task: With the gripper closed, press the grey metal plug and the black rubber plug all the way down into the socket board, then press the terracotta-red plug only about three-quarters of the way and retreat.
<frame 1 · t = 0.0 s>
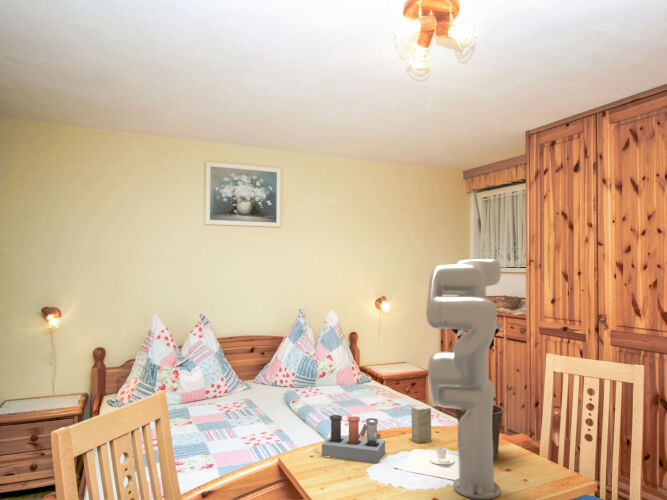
hand: (475, 348, 156), 37 cm above the table, tool pointing down, fingers open, 9 cm apart
plug black: (335, 428, 162), point 8 cm above the table, slide at 0.0 cm
skincare box: (421, 441, 173), on the table
socket board: (353, 454, 159), on the table
teacup and saucer: (434, 463, 150), on the table, touching plant pot
plug grey: (371, 431, 157), point 8 cm above the table, slide at 0.0 cm
plug red: (353, 430, 159), point 8 cm above the table, slide at 0.0 cm
plant pot: (479, 455, 158), on the table, touching teacup and saucer
grey white bent piece: (358, 447, 166), on the table
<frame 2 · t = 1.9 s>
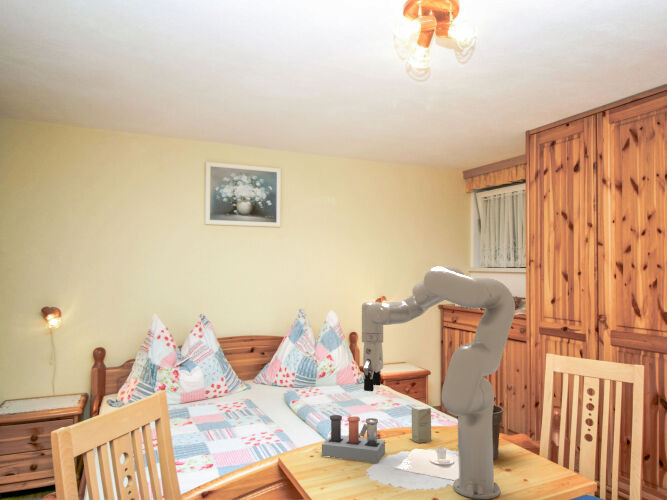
hand: (372, 387, 159), 23 cm above the table, tool pointing down, fingers open, 9 cm apart
nothing on the table moved.
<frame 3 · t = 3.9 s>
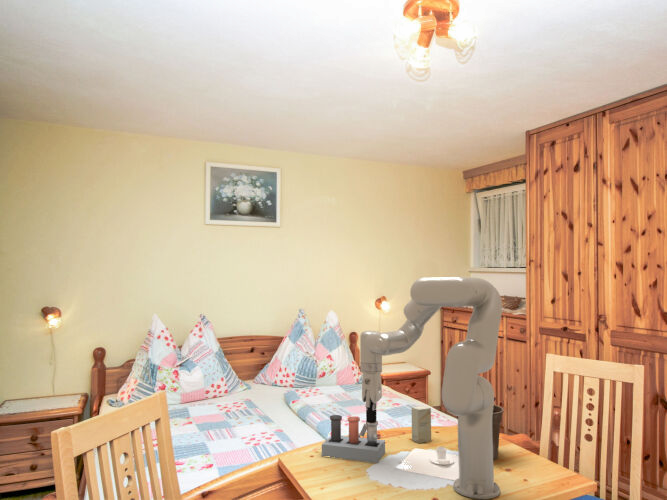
hand: (371, 421, 158), 11 cm above the table, tool pointing down, fingers closed
plug grey: (371, 433, 157), point 7 cm above the table, slide at 0.7 cm, touching gripper
everything else where it was.
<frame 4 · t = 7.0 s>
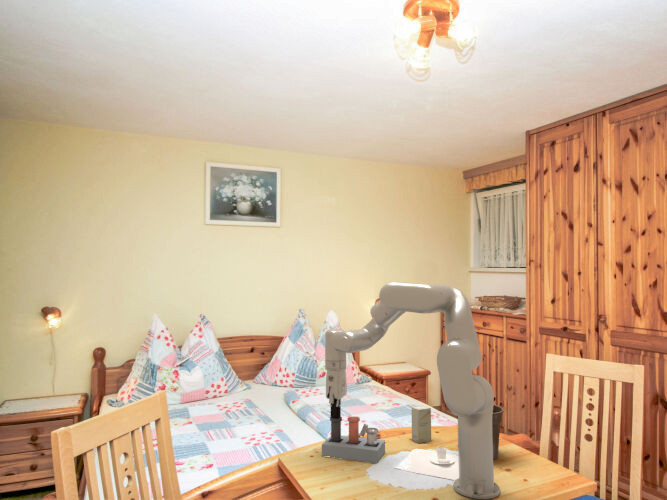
hand: (335, 417, 162), 12 cm above the table, tool pointing down, fingers closed
plug black: (335, 429, 162), point 8 cm above the table, slide at 0.4 cm, touching gripper
plug grey: (372, 441, 157), point 5 cm above the table, slide at 3.2 cm
everything else where it was.
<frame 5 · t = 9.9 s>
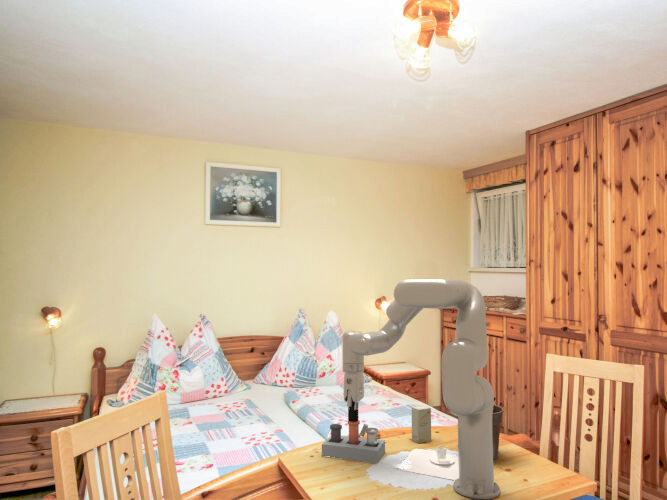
hand: (353, 420, 160), 11 cm above the table, tool pointing down, fingers closed
plug black: (336, 437, 161), point 5 cm above the table, slide at 3.1 cm
plug red: (353, 432, 159), point 7 cm above the table, slide at 1.0 cm, touching gripper
everything else where it was.
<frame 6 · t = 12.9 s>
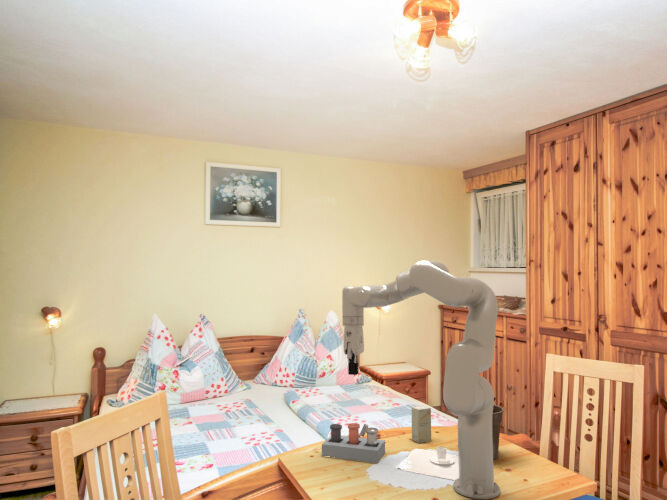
hand: (353, 374, 161), 27 cm above the table, tool pointing down, fingers closed
plug red: (353, 436, 159), point 6 cm above the table, slide at 2.3 cm
everything else where it was.
at the end: plug grey slide at 3.2 cm; plug black slide at 3.1 cm; plug red slide at 2.3 cm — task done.
